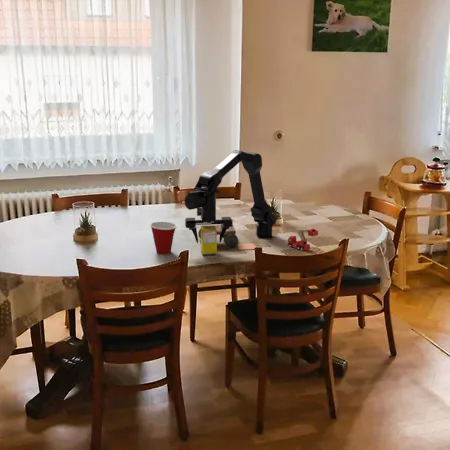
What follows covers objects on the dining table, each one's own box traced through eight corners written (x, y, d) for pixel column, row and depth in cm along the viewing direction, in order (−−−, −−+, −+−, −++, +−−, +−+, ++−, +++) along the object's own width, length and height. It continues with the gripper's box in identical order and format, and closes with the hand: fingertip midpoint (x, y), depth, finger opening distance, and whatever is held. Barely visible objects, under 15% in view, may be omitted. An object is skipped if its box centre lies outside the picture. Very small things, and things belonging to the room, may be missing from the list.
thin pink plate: (253, 244, 234) (253, 243, 234) (255, 249, 227) (255, 248, 227) (237, 244, 233) (237, 244, 233) (239, 249, 226) (239, 249, 226)
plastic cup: (179, 255, 219) (179, 226, 216) (153, 257, 216) (152, 228, 213) (175, 247, 229) (174, 219, 226) (149, 249, 226) (148, 221, 223)
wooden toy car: (234, 238, 241) (234, 223, 239) (238, 247, 229) (238, 232, 227) (198, 239, 239) (198, 224, 237) (200, 249, 227) (200, 233, 225)
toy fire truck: (291, 244, 234) (292, 222, 231) (317, 252, 225) (318, 229, 222) (286, 246, 232) (287, 224, 229) (312, 253, 222) (313, 231, 220)
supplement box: (214, 250, 225) (215, 225, 222) (217, 255, 220) (217, 229, 217) (200, 251, 224) (200, 225, 221) (202, 256, 219) (202, 230, 216)
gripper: (229, 200, 225) (229, 236, 230) (184, 201, 223) (184, 237, 227) (233, 206, 215) (232, 244, 219) (185, 207, 212) (186, 245, 217)
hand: (208, 242), depth 221 cm, fingers open, 9 cm apart
